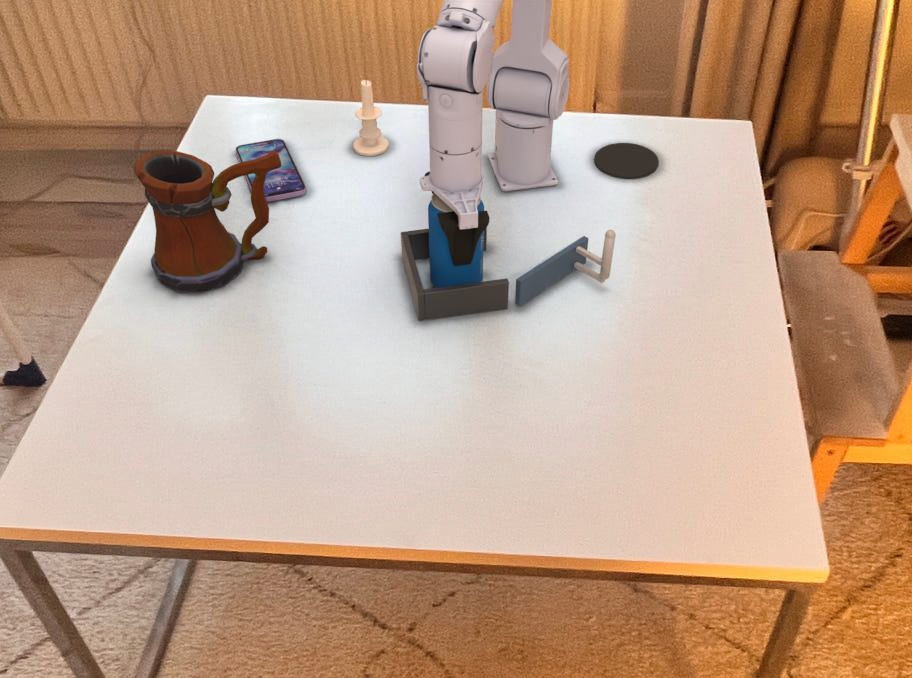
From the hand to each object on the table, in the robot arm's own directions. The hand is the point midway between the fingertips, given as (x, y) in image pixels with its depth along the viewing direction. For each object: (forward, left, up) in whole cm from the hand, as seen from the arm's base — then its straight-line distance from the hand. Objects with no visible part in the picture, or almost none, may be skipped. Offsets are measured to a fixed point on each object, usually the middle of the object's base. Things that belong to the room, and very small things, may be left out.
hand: (456, 245), depth 110 cm
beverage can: (0, 0, -6) cm, 6 cm away
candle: (-34, -6, -6) cm, 35 cm away
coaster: (-22, +29, -5) cm, 37 cm away
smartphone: (-30, -21, -5) cm, 37 cm away
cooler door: (+5, +13, -5) cm, 15 cm away
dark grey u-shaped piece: (0, 0, -5) cm, 5 cm away
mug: (-10, -28, -6) cm, 30 cm away
